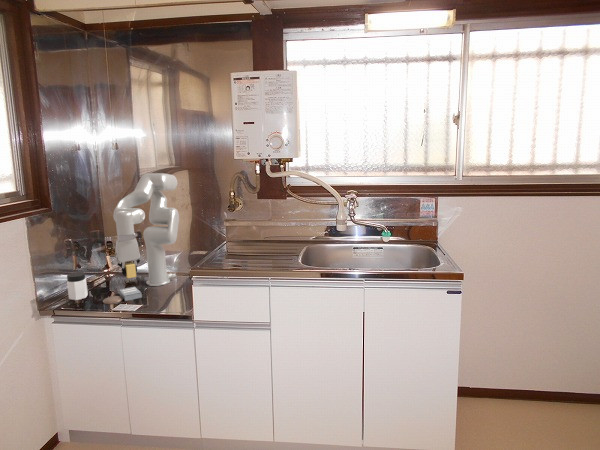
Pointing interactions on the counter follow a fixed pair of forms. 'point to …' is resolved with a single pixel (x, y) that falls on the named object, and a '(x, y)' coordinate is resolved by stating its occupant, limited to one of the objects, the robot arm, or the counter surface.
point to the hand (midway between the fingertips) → (129, 274)
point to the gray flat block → (130, 293)
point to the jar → (77, 286)
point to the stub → (130, 270)
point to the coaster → (112, 300)
